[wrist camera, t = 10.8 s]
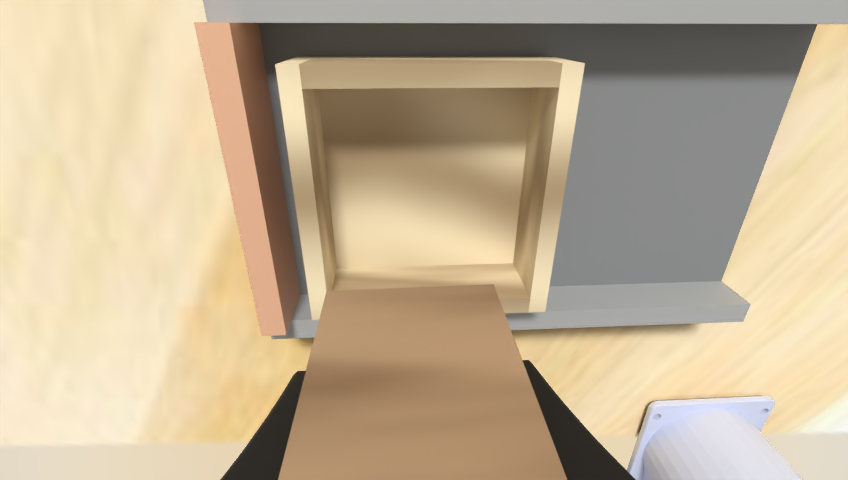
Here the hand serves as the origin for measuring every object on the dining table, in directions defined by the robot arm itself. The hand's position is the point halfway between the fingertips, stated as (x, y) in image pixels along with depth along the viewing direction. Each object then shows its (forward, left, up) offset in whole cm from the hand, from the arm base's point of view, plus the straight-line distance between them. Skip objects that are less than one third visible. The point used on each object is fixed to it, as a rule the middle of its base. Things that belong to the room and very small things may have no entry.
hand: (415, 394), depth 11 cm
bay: (+3, -5, -10) cm, 12 cm away
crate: (+3, -1, -9) cm, 10 cm away
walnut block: (0, 0, -2) cm, 2 cm away
